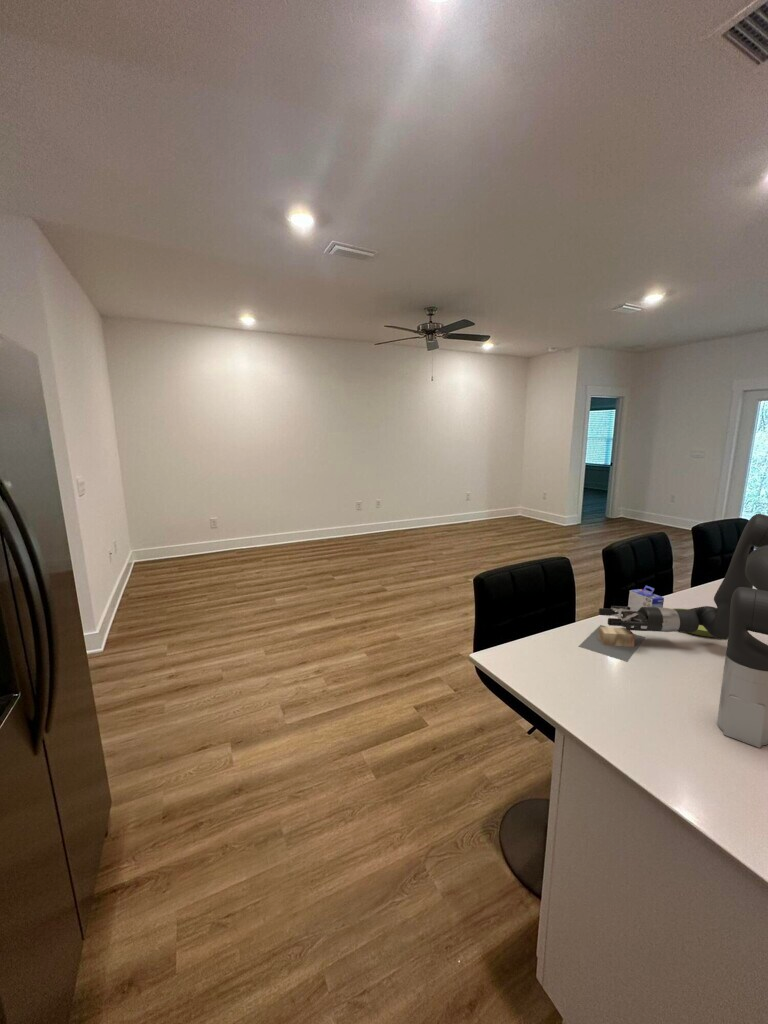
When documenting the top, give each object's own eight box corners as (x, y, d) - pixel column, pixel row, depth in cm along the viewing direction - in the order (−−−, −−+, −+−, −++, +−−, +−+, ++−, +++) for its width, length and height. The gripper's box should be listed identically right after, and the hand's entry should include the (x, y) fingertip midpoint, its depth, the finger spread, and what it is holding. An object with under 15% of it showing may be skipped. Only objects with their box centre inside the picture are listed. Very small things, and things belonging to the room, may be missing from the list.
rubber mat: (627, 663, 122) (627, 661, 122) (578, 648, 132) (578, 646, 132) (645, 638, 138) (645, 637, 137) (600, 626, 147) (600, 624, 147)
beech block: (598, 637, 137) (627, 639, 136) (603, 644, 132) (633, 646, 131) (598, 626, 137) (628, 628, 135) (604, 633, 132) (634, 634, 130)
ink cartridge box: (661, 630, 143) (665, 591, 141) (649, 632, 142) (653, 592, 140) (637, 619, 153) (641, 582, 151) (625, 621, 151) (628, 583, 149)
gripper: (649, 600, 137) (596, 597, 140) (671, 617, 123) (612, 614, 126) (647, 621, 138) (595, 618, 141) (668, 640, 124) (610, 637, 127)
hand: (603, 616), depth 133 cm, fingers open, 7 cm apart
